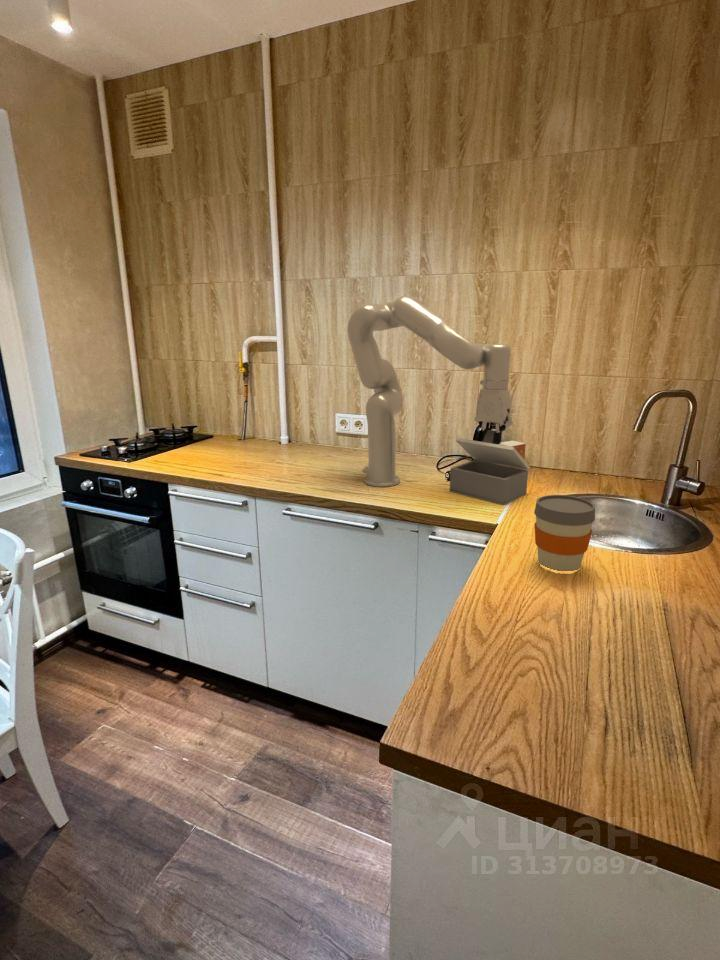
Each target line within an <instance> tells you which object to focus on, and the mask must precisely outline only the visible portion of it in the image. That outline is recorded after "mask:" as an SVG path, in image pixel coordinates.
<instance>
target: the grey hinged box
mask: <svg viewBox="0 0 720 960" xmlns="http://www.w3.org/2000/svg"><path fill="white" fill-rule="evenodd" d="M449 474H450V476H449V478H450V479H449V492H450V493H451V492H452V493H454V494H459V495H463V496H467V497H471V498H475V499H478V500H483V501H486V502H491V503H493V504H499V505H502V506H505V505H507V504H509V503H511V502H513V501H516V500H517V498H518V499H519V497H520V498H522V497H524V496H525V494H526V495H527V489H528V476H529V470H526V469H518V468H512V467H507V466H502V465H497V464H495V463H490V462H484V461H479V460H474V459H472V460H471V461H467V462H465V463H462V464H458V465H455V466H453V467H450V473H449ZM523 495H524V496H523ZM521 496H522V497H521Z"/></svg>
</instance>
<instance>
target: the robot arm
mask: <svg viewBox="0 0 720 960" xmlns="http://www.w3.org/2000/svg"><path fill="white" fill-rule="evenodd" d="M401 327H405V328H406V329H407V330H409V331H411V332H412V333H413V334H414V335H416V336H418V338H421V339H422V340H423V341H425V342H426V343H428V345H429V346H431V347H432V348H434V349H435V350H436V352H438V353H439V354H441V355H442V356H443V357H445V358H446V359H447V360H449V361H451V362H452V363H453V364H454V365H456V366H457V367H460V368H461V369H464V370H467V371H468V370H473V369H476V368H480V367H483V379H482V380H480V382H479V384H480V385H482V388H481V389H480V390H479V393H478V397H477V402H476V410H475V417H474V422H476V424H479V427H480V428H481V430H482V440H483V439H484V437H485V435H486V432H487V430H491V429H490V427H491V424H495V431H496V432H495V433H494V443H493V444H500V443H502V436H503V432H504V431H505V430H506V429H507V428H508V427H511V426H513V425H514V423H513V421H512V418H511V416H512V402H511V401H512V400H511V399H512V398H511V392H510V390H509V378H510V366H511V350H512V349H511V346H510V345H509V344H507V343H506V344H505V343H491V344H485V343H478V342H477V343H476V342H469V341H468V340H466V339H465V338H464V337H462V336H461V335H459V334H458V333H457V332H455V331H454V330H453V329H452V328H451V327H450V326H449V324H448V323H447V320H445V319H444V318H443V317H441V316H440V315H439V314H437V313H436V312H434V311H432V310H431V309H429V308H428V307H426V306H425V305H424V304H423V302H422V301H421V300H420V299H419V298H417V297H415V296H410V295H402V296H399V297H397V298H396V299H395V300H394V301H392V302H386V303H382V304H378V303H364V304H362V305H360V306H358V307H357V308H356V309H355V310H354V311H353V313H352V314H351V315H350V318H349V320H348V324H347V336H348V340H349V344H350V347H351V352H353V353H352V354H353V357H354V360H355V366H356V368H357V372H358V376H359V378H360V381H361V384H362V385H363V386H364V387H365V388H366V389H369V390H373V392H374V394H372V395H371V396H370V397H369V398H368V399H367V401H366V405H365V416H366V422H367V438H368V439H367V441H368V442H367V445H368V447H367V448H368V466H367V465H366V466H364V467H363V468H362V470H361V472H362V473H363V474H366V476H365V477H364V483H365V484H366V485H368V486H372V487H381V488H382V487H392V486H396V485H398V484H400V482H401V478H400V476H397V473H396V468H397V465H396V460H397V459H396V456H397V454H396V451H397V450H396V448H397V446H396V445H397V440H396V439H397V438H396V436H397V435H396V434H397V431H396V422H395V416H397V414H399V413H400V412H401V411H402V409H403V405H404V399H403V395H402V394H403V393H402V390H401V387H400V384H399V380H398V377H397V374H396V369H395V368H394V366H393V365H392V363H391V362H390V361H388V360H386V359H385V358H382V357H381V352H380V350H379V346H378V343H377V341H376V339H375V337H374V332H377V331H386V330H391V329H395V328H396V329H397V328H401Z"/></svg>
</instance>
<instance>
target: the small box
mask: <svg viewBox="0 0 720 960" xmlns="http://www.w3.org/2000/svg"><path fill="white" fill-rule="evenodd" d="M498 445H504V446H510V447H514V448H515V449H516V450H517V452H518V453H519V454H520V455H521V457H522V458H523V459H524V460H525V458H526V457H525V455H526V446H527V444H526V443H525V442H521V441H516V440H512V439H511V440H509V441H508V440H507V441H501V443H500V444H498ZM497 465H500V464H497ZM502 466H505V465H502ZM507 467H510V466H507ZM512 468H516V467H512ZM518 469H521V468H518Z"/></svg>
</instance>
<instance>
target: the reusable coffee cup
mask: <svg viewBox="0 0 720 960" xmlns="http://www.w3.org/2000/svg"><path fill="white" fill-rule="evenodd" d="M533 513H534V516H535V523H534V525H533V526H534V542H535V545H536V546H537V562H538V561H539V563H540V564H541V565H543V566H545V567H547V568H550V569H553V570H557V571H574V570H578V569H579V568H580V569H581V567H582V562H583V559H584V556H585V555H584V554H585V553H586V552H587V551H588V548H589V544H590V540H591V537H592V534H593V530H592V526H593V523H594V521H595V519H596V505H595V504H594V503H593V502H592V501H590V500H588V499H585V498H582V497H578V496H573V495H568V494H567V495H565V494H549V495H542V496H540V497H539V498H537V499H536V502H535V508H534V512H533Z"/></svg>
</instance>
